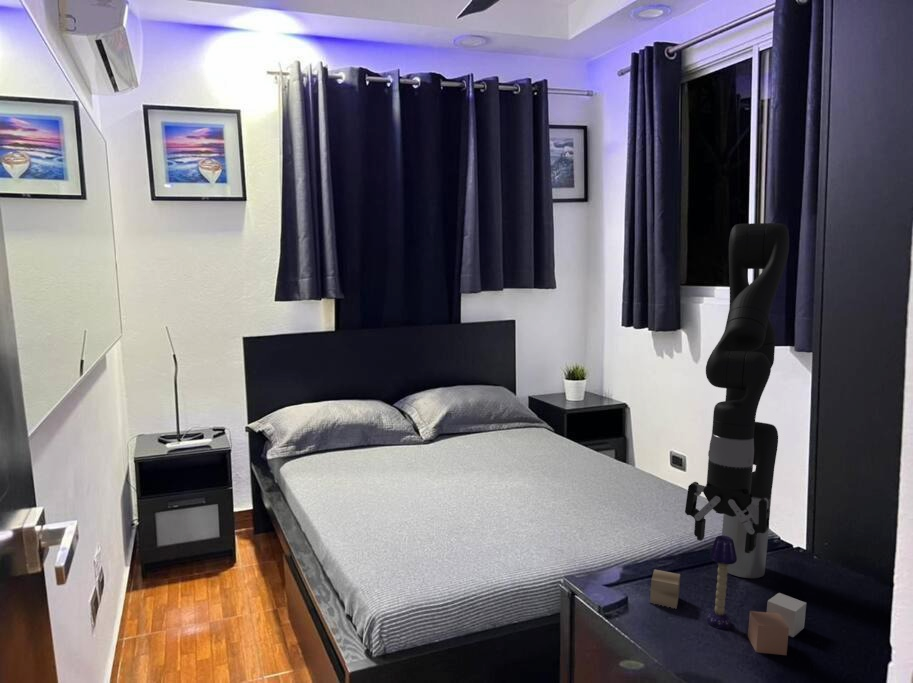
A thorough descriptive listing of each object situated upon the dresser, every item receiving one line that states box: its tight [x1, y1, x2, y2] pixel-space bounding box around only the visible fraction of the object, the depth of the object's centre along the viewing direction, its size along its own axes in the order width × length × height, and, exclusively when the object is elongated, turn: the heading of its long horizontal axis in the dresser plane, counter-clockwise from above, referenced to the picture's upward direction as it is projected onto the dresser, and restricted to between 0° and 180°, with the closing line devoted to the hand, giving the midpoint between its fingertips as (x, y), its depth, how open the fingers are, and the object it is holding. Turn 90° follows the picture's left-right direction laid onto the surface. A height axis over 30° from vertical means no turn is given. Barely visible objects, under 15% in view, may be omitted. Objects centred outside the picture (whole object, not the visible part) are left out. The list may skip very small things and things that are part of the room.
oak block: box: [649, 569, 681, 610], centre depth 135 cm, size 5×5×5 cm
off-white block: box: [766, 592, 807, 638], centre depth 126 cm, size 5×5×5 cm
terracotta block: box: [747, 610, 789, 656], centre depth 120 cm, size 5×5×5 cm
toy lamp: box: [706, 534, 737, 630], centre depth 126 cm, size 5×5×17 cm
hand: (723, 545), depth 125 cm, fingers open, 8 cm apart
